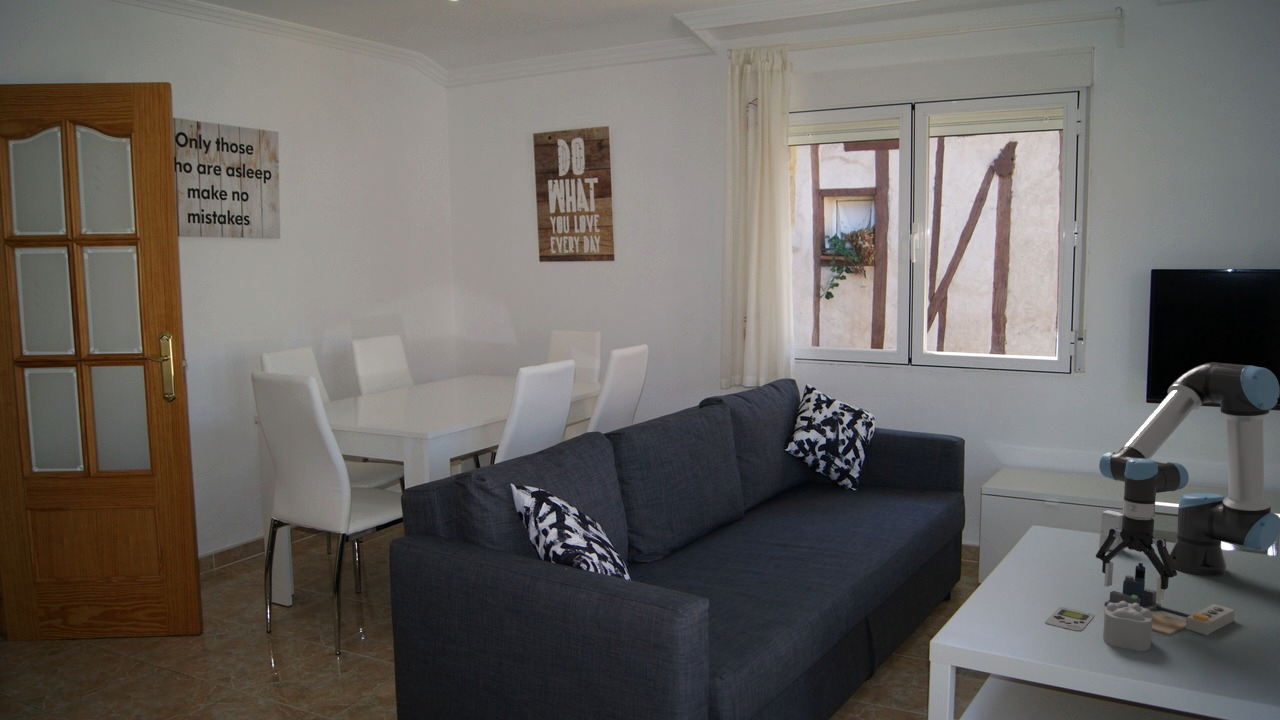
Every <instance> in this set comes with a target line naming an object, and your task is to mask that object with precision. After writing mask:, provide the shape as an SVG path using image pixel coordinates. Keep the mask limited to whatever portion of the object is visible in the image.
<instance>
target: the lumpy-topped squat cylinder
mask: <svg viewBox="0 0 1280 720" xmlns="http://www.w3.org/2000/svg"><path fill="white" fill-rule="evenodd" d="M1145 608H1146V607H1141V606H1140V605H1139V604H1138V603H1133V604H1130V603H1127V602H1126V601H1120V602H1119V603H1108V604H1107V606H1106V605H1105V608H1104V615H1103V616H1104V618H1103V631H1102V638H1103V642H1104V643H1105V644H1107V645H1108V646H1111V647H1114V648H1123V649H1128V650H1132V651H1137V652H1148V651H1150V650H1151V648H1152V635H1153V630H1152V623H1153V615H1152V613H1151V611H1150V610H1149V609H1145Z"/></svg>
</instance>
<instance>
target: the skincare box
mask: <svg viewBox="0 0 1280 720" xmlns="http://www.w3.org/2000/svg"><path fill="white" fill-rule="evenodd" d="M1123 515H1125V514H1124V513H1123V512H1122V513H1121V512H1118V511H1114V510H1110V509H1108V510H1104V511H1102V512H1101V522H1100V530H1099V541H1098V543H1099V545H1098V547H1099V548H1101V546H1102V545H1103V543H1104V542H1105V540H1106V539H1107V537H1108V535H1109V530H1110V529H1112V528H1117V529H1118V530H1120V531H1122V516H1123ZM1121 542H1123V540H1122V538H1121V537H1120V535H1119V536H1118V537H1116V539H1115V540H1114V542H1113V543H1112V545H1111V547H1110V548H1109V550H1108V551H1112V550H1113V549H1115V548H1116V547H1117V546H1118V545H1119V544H1120V543H1121Z"/></svg>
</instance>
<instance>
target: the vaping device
mask: <svg viewBox="0 0 1280 720" xmlns="http://www.w3.org/2000/svg"><path fill="white" fill-rule="evenodd" d="M1134 569H1135V571H1134V576H1133V575H1125V578H1124V580H1123V582H1122V593H1124V594H1127V595H1130V596H1131V595H1136V596H1138V598H1140V606H1141V607H1143V591H1144V588H1146V585H1145V584H1146V566H1145V565H1144V563H1142V562H1139V563H1138V565H1135V568H1134ZM1143 608H1144V607H1143Z"/></svg>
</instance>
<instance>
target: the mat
mask: <svg viewBox="0 0 1280 720" xmlns="http://www.w3.org/2000/svg"><path fill="white" fill-rule="evenodd" d="M1151 613H1152V615H1153V623H1152V632H1153V631H1154V632H1157V633H1160V634H1163V635H1166V636H1170V635H1172V634H1174V633H1177V632H1179V631H1180V630H1182V629H1184V628H1185V629H1186V620H1184V619H1180V618H1177V617H1176V618H1175V617H1172V616H1170V615H1165V614H1163V613H1159V612H1155V611H1154V610H1153V611H1151Z"/></svg>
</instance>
